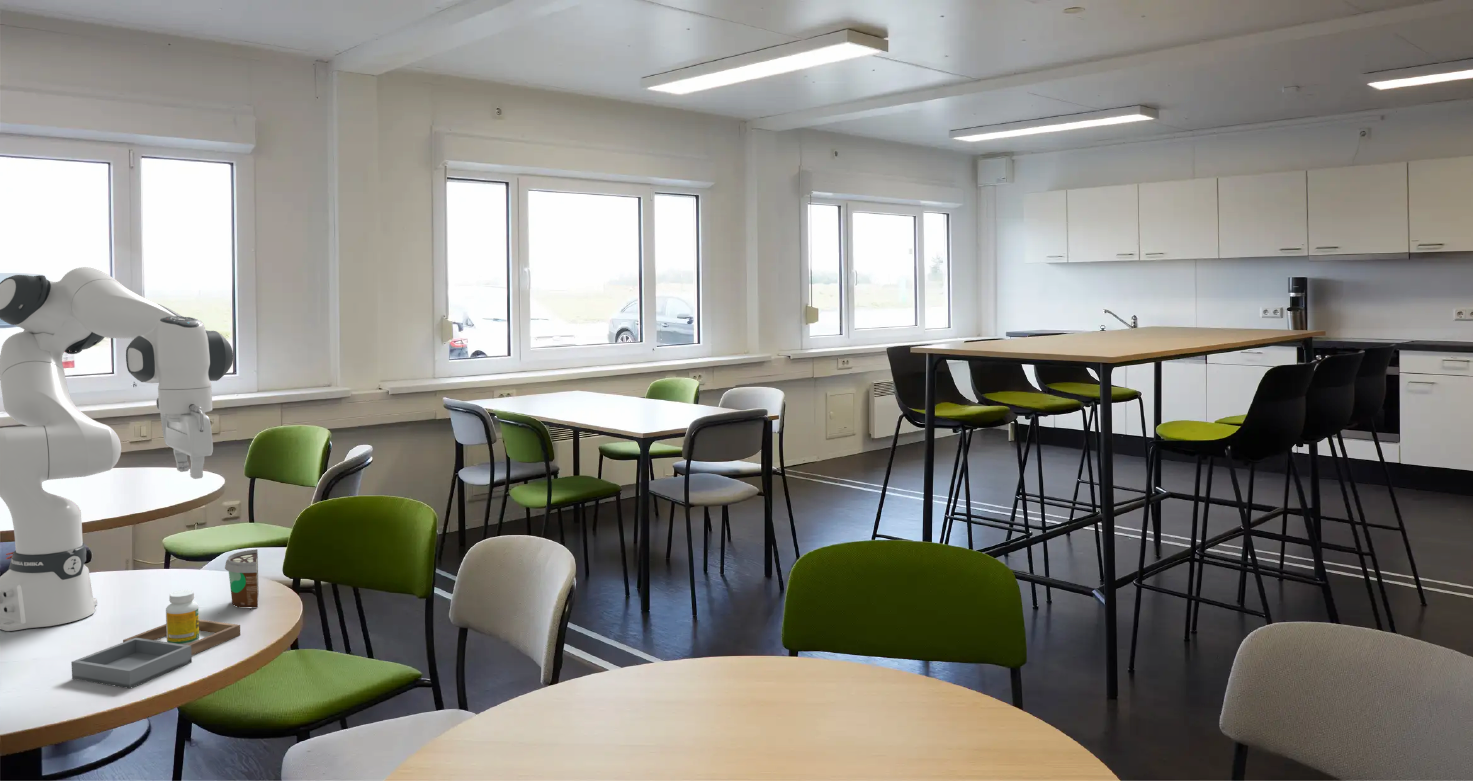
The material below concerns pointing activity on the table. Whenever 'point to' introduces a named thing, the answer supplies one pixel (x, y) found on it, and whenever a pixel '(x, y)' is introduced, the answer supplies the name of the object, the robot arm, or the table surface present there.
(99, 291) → the robot arm
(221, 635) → the wooden square frame
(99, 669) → the tray
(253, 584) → the food container
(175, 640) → the supplement bottle
